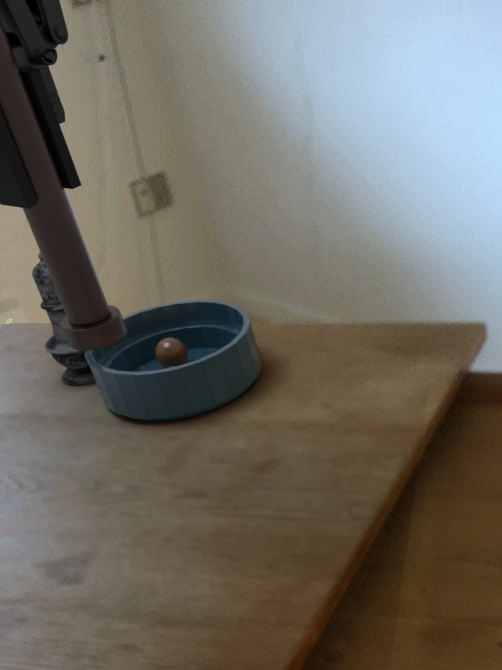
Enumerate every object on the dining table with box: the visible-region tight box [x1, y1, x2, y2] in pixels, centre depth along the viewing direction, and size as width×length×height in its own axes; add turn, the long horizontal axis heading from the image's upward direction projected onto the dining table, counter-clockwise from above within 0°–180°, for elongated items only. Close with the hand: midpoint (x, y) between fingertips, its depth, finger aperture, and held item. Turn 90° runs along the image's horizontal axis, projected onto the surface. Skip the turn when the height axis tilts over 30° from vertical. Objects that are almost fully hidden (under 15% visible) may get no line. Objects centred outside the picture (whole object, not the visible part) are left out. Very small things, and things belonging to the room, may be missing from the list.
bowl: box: [85, 299, 263, 422], centre depth 90 cm, size 15×15×5 cm
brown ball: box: [155, 337, 188, 368], centre depth 92 cm, size 3×3×3 cm
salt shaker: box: [31, 251, 96, 387], centre depth 92 cm, size 6×6×12 cm
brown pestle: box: [0, 19, 127, 351], centre depth 60 cm, size 4×4×20 cm
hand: (41, 194), depth 60 cm, fingers closed on brown pestle, 3 cm apart
